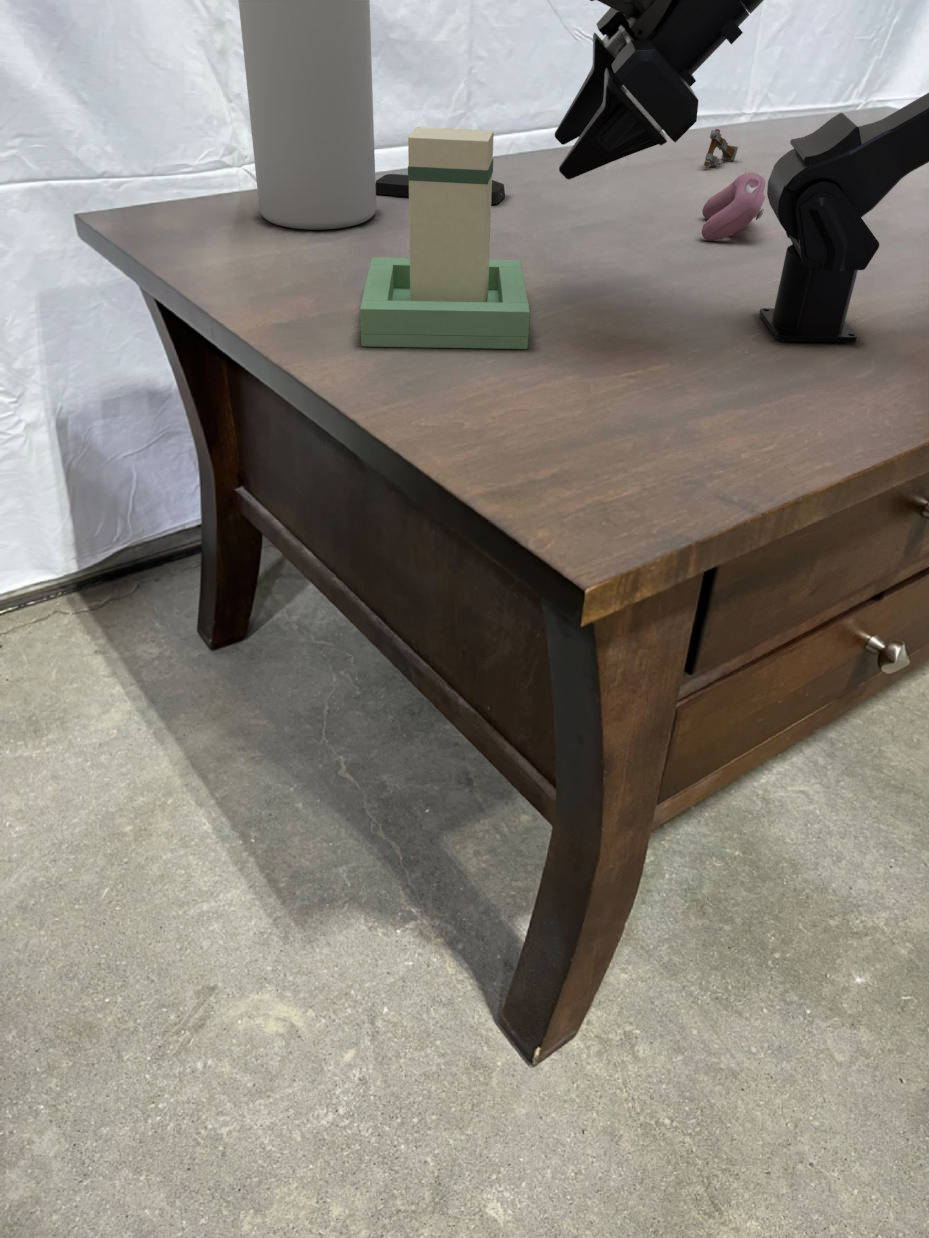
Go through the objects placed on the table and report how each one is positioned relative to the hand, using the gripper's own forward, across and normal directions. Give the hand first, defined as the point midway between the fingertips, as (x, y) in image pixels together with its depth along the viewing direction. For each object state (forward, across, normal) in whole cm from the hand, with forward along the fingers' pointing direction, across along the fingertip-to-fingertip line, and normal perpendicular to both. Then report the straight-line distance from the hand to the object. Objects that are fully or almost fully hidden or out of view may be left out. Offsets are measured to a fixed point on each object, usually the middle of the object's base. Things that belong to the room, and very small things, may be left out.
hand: (560, 156), depth 76 cm
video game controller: (-3, -26, +25) cm, 36 cm away
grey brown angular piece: (-4, -59, +30) cm, 66 cm away
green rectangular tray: (+15, +3, +2) cm, 15 cm away
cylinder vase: (+27, -28, -8) cm, 39 cm away
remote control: (+19, -38, +2) cm, 43 cm away
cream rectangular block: (+14, +2, +1) cm, 14 cm away
